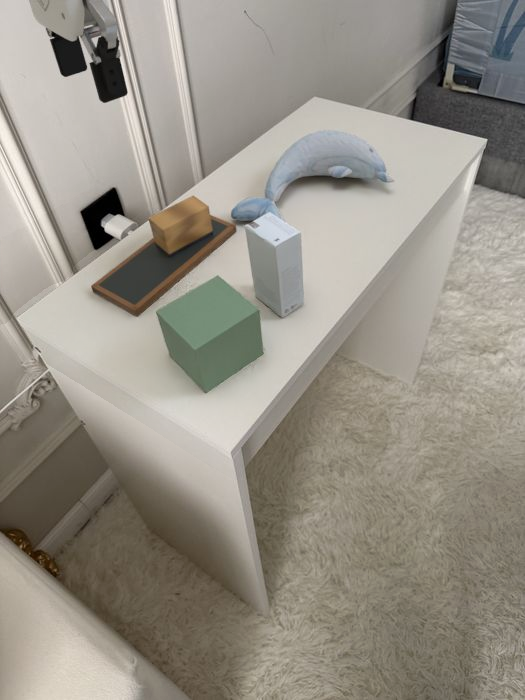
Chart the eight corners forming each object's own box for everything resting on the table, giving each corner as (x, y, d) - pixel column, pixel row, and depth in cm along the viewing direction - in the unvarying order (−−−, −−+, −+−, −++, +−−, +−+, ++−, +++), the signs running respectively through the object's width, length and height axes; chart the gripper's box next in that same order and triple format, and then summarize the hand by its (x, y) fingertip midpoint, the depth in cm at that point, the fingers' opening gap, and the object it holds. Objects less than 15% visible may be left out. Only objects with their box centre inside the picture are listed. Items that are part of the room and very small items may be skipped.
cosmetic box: (305, 304, 71) (305, 230, 62) (280, 320, 69) (276, 247, 60) (276, 281, 74) (271, 208, 65) (251, 296, 72) (243, 224, 63)
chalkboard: (137, 316, 71) (134, 310, 70) (93, 292, 75) (90, 286, 74) (236, 231, 82) (235, 225, 81) (193, 213, 86) (192, 207, 85)
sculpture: (315, 280, 80) (402, 185, 89) (317, 248, 73) (411, 148, 82) (227, 229, 86) (316, 144, 95) (221, 194, 79) (318, 107, 88)
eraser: (169, 257, 77) (162, 230, 73) (155, 245, 79) (147, 217, 75) (213, 234, 80) (208, 206, 76) (198, 222, 82) (193, 195, 78)
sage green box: (205, 393, 62) (194, 350, 56) (169, 355, 66) (155, 311, 60) (263, 353, 66) (259, 309, 60) (225, 319, 70) (217, 274, 64)
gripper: (-36, -116, 50) (32, 73, 63) (37, -96, 41) (99, 121, 54) (38, -127, 53) (89, 56, 66) (122, -111, 44) (161, 98, 56)
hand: (93, 85), depth 60 cm, fingers open, 9 cm apart
